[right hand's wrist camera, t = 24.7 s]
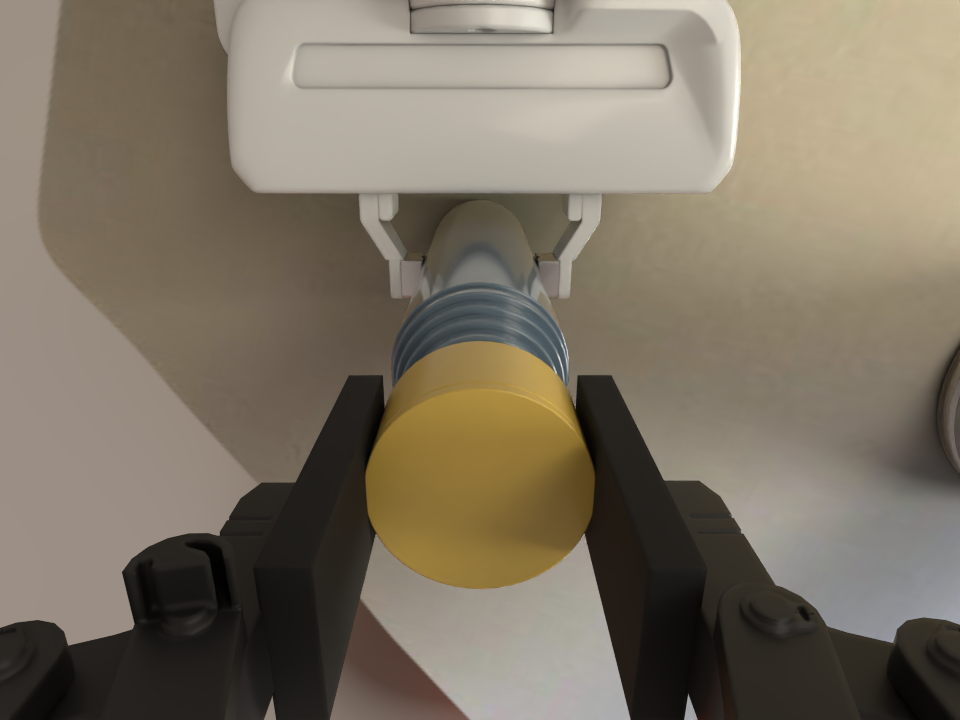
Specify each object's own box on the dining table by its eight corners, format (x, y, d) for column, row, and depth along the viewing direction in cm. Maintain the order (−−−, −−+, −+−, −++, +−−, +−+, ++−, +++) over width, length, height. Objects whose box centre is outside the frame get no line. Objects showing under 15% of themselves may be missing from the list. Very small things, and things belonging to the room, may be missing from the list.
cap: (609, 380, 14) (637, 436, 12) (532, 536, 16) (541, 615, 13) (420, 310, 14) (407, 354, 11) (358, 479, 15) (335, 550, 13)
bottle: (515, 189, 34) (582, 332, 12) (535, 280, 36) (624, 553, 14) (423, 212, 34) (319, 390, 12) (446, 301, 36) (393, 598, 14)
